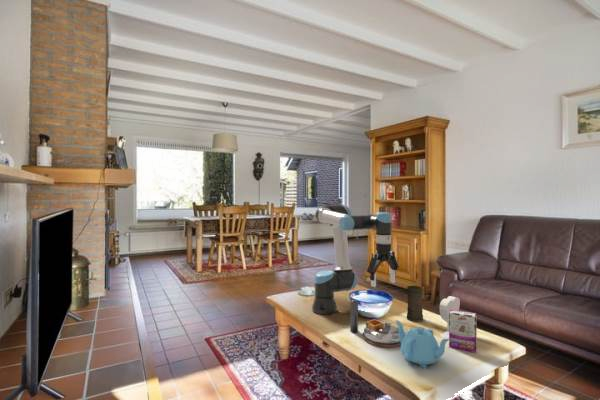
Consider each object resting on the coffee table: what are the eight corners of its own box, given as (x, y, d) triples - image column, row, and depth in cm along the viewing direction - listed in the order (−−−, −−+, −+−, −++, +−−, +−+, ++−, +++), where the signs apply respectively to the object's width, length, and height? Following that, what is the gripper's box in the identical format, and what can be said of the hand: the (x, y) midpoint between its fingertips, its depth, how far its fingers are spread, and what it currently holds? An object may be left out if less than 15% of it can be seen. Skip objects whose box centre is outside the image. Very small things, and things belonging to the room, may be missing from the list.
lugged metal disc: (412, 338, 158) (412, 329, 158) (383, 348, 148) (383, 338, 148) (383, 325, 174) (383, 316, 174) (356, 332, 165) (356, 323, 164)
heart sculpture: (451, 327, 173) (451, 293, 173) (461, 330, 170) (461, 296, 169) (437, 336, 163) (437, 300, 163) (448, 339, 159) (448, 302, 159)
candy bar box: (476, 348, 150) (476, 313, 150) (476, 353, 146) (476, 316, 145) (450, 343, 156) (450, 308, 155) (448, 347, 151) (448, 312, 151)
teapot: (395, 349, 149) (395, 319, 149) (441, 353, 146) (441, 322, 145) (399, 368, 133) (399, 334, 133) (450, 373, 130) (450, 338, 129)
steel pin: (348, 330, 170) (348, 300, 170) (354, 328, 172) (354, 298, 172) (353, 333, 167) (353, 302, 167) (359, 331, 169) (359, 300, 169)
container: (424, 322, 180) (424, 290, 180) (407, 321, 182) (407, 289, 182) (422, 316, 189) (422, 285, 189) (405, 315, 191) (405, 284, 190)
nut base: (354, 335, 165) (354, 333, 165) (383, 326, 175) (383, 325, 175) (383, 351, 147) (383, 349, 147) (413, 341, 157) (413, 339, 157)
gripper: (370, 246, 156) (370, 290, 157) (406, 241, 169) (405, 282, 170) (360, 244, 162) (359, 286, 163) (394, 239, 175) (394, 279, 176)
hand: (383, 284), depth 166 cm, fingers open, 13 cm apart
